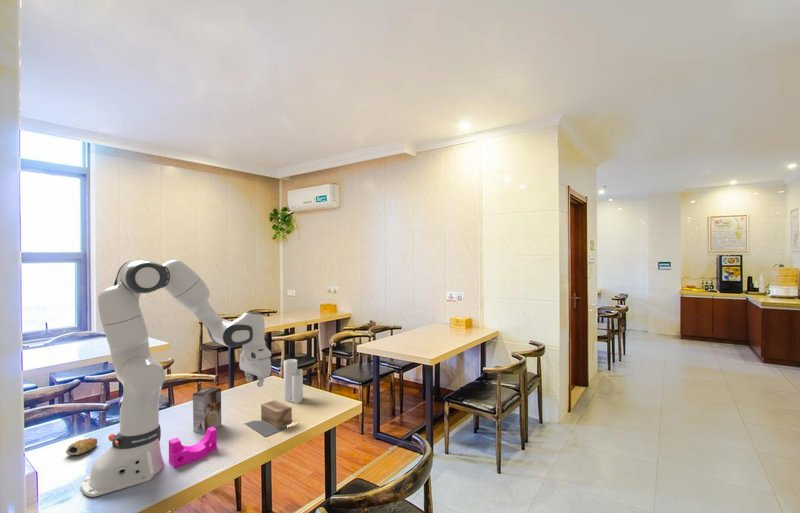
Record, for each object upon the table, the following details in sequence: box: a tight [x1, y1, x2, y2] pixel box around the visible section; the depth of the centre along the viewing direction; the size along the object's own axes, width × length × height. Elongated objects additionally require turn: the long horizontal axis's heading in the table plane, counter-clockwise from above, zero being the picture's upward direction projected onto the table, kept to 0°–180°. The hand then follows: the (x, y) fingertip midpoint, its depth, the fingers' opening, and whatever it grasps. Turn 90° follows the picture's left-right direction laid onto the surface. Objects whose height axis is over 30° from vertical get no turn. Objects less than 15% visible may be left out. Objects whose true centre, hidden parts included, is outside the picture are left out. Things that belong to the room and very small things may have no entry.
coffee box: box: [192, 386, 222, 435], centre depth 162 cm, size 9×6×16 cm
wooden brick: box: [260, 399, 293, 429], centre depth 167 cm, size 7×13×7 cm, turn 48°
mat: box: [244, 420, 290, 438], centre depth 170 cm, size 30×18×1 cm, turn 138°
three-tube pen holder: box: [283, 358, 304, 404], centre depth 192 cm, size 11×7×20 cm, turn 59°
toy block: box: [168, 427, 218, 469], centre depth 139 cm, size 15×6×8 cm, turn 136°
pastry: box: [65, 437, 98, 456], centre depth 144 cm, size 9×7×4 cm
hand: (254, 383), depth 159 cm, fingers open, 8 cm apart
